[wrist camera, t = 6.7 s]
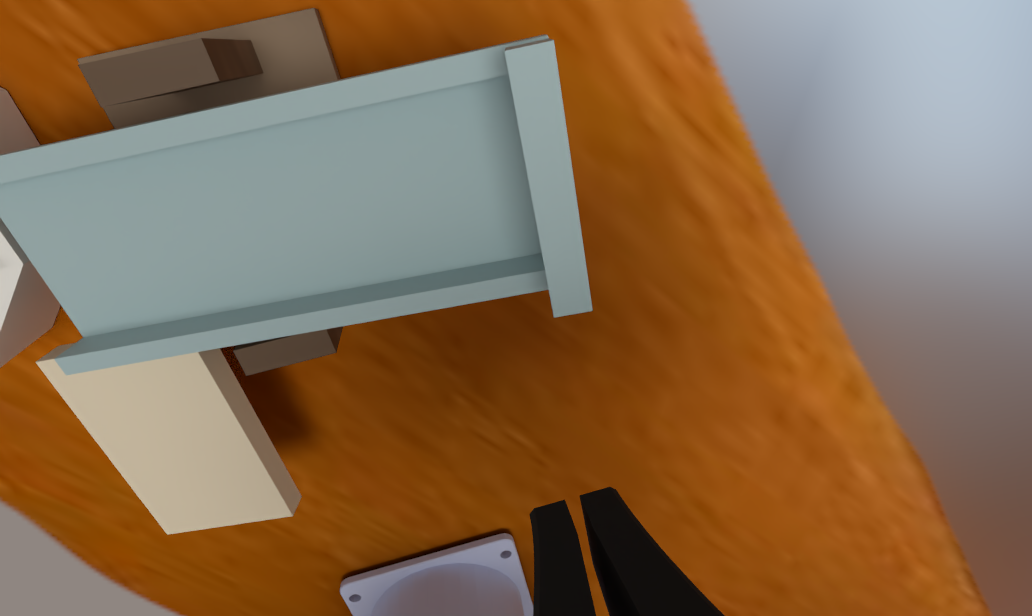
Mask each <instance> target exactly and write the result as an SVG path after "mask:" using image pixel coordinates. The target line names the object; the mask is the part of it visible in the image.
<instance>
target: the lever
mask: <svg viewBox="0 0 1032 616" xmlns="http://www.w3.org/2000/svg"><path fill="white" fill-rule="evenodd" d="M0 218H1V219H2V221H3V222H4V224H5V225H6V227H7V228H8V229H9V231H10V232H11V234H12V235H13V237H14V238H15V239H16V241H17V242H18V244H19V245H20V247H21V248H22V250H23V251H24V252H25V254H26V255H27V257H28V258H29V260H30V261H31V263H32V264H33V265H34V267H35V268H36V270H37V271H38V273H39V274H40V276H41V277H42V278H43V280H44V281H45V283H46V284H47V286H48V287H49V289H50V290H51V291H52V293H53V294H54V296H55V297H56V299H57V300H58V302H59V303H60V304H61V306H62V307H63V309H64V310H65V312H66V313H67V314H68V316H69V317H70V319H71V320H72V322H73V323H74V325H75V326H76V327H77V329H78V330H79V332H80V333H81V335H82V336H83V338H82V339H81V340H79V341H78V342H77V343H72V344H67V345H61V346H58V347H56V348H55V349H53V350H52V351H51V352H49V353H48V354H46V355H45V356H44V357H42V358H41V359H39V360H38V361H36V364H37V365H38V366H39V368H40V369H41V370H42V371H43V373H44V374H45V375H46V377H47V378H48V379H49V381H50V382H51V383H52V384H53V386H54V387H55V388H56V390H57V391H58V392H59V394H60V395H61V396H62V398H63V399H64V400H65V401H66V403H67V404H68V405H69V407H70V408H71V409H72V411H73V412H74V413H75V415H76V416H77V417H78V418H79V420H80V421H81V422H82V424H83V425H84V426H85V428H86V429H87V430H88V432H89V433H90V434H91V435H92V437H93V438H94V439H95V441H96V442H97V443H98V445H99V446H100V447H101V449H102V450H103V451H104V452H105V454H106V455H107V456H108V458H109V459H110V460H111V462H112V463H113V464H114V466H115V467H116V468H117V469H118V471H119V472H120V473H121V475H122V476H123V477H124V479H125V480H126V481H127V483H128V484H129V485H130V486H131V488H132V489H133V490H134V492H135V493H136V494H137V496H138V497H139V498H140V500H141V501H142V502H143V503H144V505H145V506H146V507H147V509H148V510H149V511H150V513H151V514H152V515H153V517H154V518H155V519H156V520H157V522H158V523H159V524H160V526H161V527H162V528H163V530H164V531H165V532H166V534H174V533H181V532H188V531H195V530H201V529H208V528H215V527H222V526H229V525H235V524H242V523H249V522H256V521H263V520H270V519H276V518H283V517H290V516H293V515H294V513H295V510H296V508H297V506H298V504H299V501H300V499H301V497H302V496H301V494H300V492H299V491H298V489H297V487H296V485H295V483H294V482H293V480H292V478H291V476H290V474H289V473H288V471H287V469H286V467H285V465H284V464H283V462H282V460H281V458H280V456H279V455H278V453H277V451H276V449H275V447H274V446H273V444H272V442H271V440H270V438H269V437H268V435H267V433H266V431H265V429H264V428H263V426H262V424H261V422H260V420H259V418H258V417H257V415H256V413H255V411H254V409H253V408H252V406H251V404H250V402H249V400H248V399H247V397H246V395H245V393H244V391H243V390H242V388H241V386H240V384H239V382H238V381H237V379H236V377H235V375H234V373H233V372H232V370H231V368H230V366H229V364H228V363H227V361H226V359H225V357H224V355H223V353H222V352H221V350H220V348H223V347H229V346H235V345H240V344H246V343H251V342H257V341H263V340H268V339H274V338H279V337H285V336H291V335H296V334H302V333H308V332H313V331H319V330H324V329H330V328H336V327H341V326H347V325H353V324H358V323H364V322H369V321H375V320H381V319H386V318H392V317H398V316H403V315H409V314H414V313H420V312H426V311H431V310H437V309H443V308H448V307H454V306H459V305H465V304H471V303H476V302H482V301H488V300H493V299H499V298H504V297H510V296H516V295H521V294H527V293H533V292H538V291H544V290H549V294H550V299H551V305H552V310H553V315H554V318H555V317H560V316H566V315H572V314H578V313H584V312H589V311H593V309H592V302H591V295H590V288H589V282H588V275H587V268H586V261H585V254H584V247H583V240H582V233H581V226H580V219H579V212H578V205H577V198H576V191H575V184H574V177H573V170H572V163H571V156H570V149H569V142H568V135H567V129H566V122H565V115H564V108H563V101H562V94H561V87H560V80H559V73H558V66H557V59H556V52H555V45H554V40H552V39H549V38H548V35H545V34H544V35H540V36H535V37H531V38H526V39H522V40H517V41H513V42H508V43H504V44H499V45H494V46H490V47H485V48H481V49H476V50H472V51H467V52H463V53H458V54H454V55H449V56H445V57H440V58H435V59H431V60H426V61H422V62H417V63H413V64H408V65H404V66H399V67H395V68H390V69H385V70H381V71H376V72H372V73H367V74H363V75H358V76H354V77H349V78H345V79H340V80H336V81H331V82H326V83H322V84H317V85H313V86H308V87H304V88H299V89H295V90H290V91H286V92H281V93H277V94H272V95H267V96H263V97H258V98H254V99H249V100H245V101H240V102H236V103H231V104H227V105H222V106H218V107H213V108H208V109H204V110H199V111H195V112H190V113H186V114H181V115H177V116H172V117H168V118H163V119H159V120H154V121H149V122H145V123H140V124H136V125H131V126H127V127H122V128H118V129H113V130H109V131H104V132H99V133H95V134H90V135H86V136H81V137H77V138H72V139H68V140H63V141H59V142H54V143H50V144H45V145H40V146H36V147H31V148H27V149H22V150H18V151H13V152H9V153H4V154H0Z"/></svg>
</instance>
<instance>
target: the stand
mask: <svg viewBox="0 0 1032 616" xmlns="http://www.w3.org/2000/svg"><path fill="white" fill-rule="evenodd" d="M77 60H78V62H79V65H78V66H79V68H80V69H81V71H82V73H83V75H84V77H85V79H86V80H87V82H88V84H89V86H90V88H91V90H92V92H93V93H94V95H95V97H96V99H97V101H98V103H99V104H100V106H101V107H103V108H104V110H105V112H106V114H107V116H108V118H109V120H110V121H111V123H112V125H113V127H114V129H118V128H122V127H127V126H131V125H136V124H140V123H145V122H149V121H154V120H159V119H163V118H168V117H172V116H177V115H181V114H186V113H190V112H195V111H199V110H204V109H208V108H213V107H218V106H222V105H227V104H231V103H236V102H240V101H245V100H249V99H254V98H258V97H263V96H267V95H272V94H277V93H281V92H286V91H290V90H295V89H299V88H304V87H308V86H313V85H317V84H322V83H326V82H331V81H336V80H340V76H339V73H338V70H337V67H336V64H335V61H334V58H333V55H332V52H331V48H330V45H329V42H328V39H327V36H326V33H325V30H324V27H323V24H322V21H321V18H320V15H319V12H318V9H315V8H312V9H307V10H302V11H298V12H293V13H288V14H284V15H279V16H274V17H270V18H265V19H261V20H256V21H251V22H247V23H242V24H237V25H233V26H228V27H223V28H219V29H214V30H209V31H205V32H200V33H196V34H191V35H186V36H182V37H177V38H172V39H168V40H163V41H158V42H154V43H149V44H144V45H140V46H135V47H131V48H126V49H121V50H117V51H112V52H107V53H103V54H98V55H93V56H89V57H84V58H79V59H77ZM342 328H343V326H341V327H336V328H330V329H324V330H319V331H313V332H308V333H302V334H296V335H291V336H285V337H279V338H274V339H268V340H263V341H257V342H251V343H246V344H240V345H236V347H235V348H234V350H233V352H234V354H235V356H236V358H237V360H238V361H239V363H240V365H241V367H242V369H243V371H244V372H245V374H246V376H248V375H252V374H256V373H260V372H263V371H267V370H271V369H275V368H279V367H283V366H287V365H291V364H294V363H298V362H302V361H306V360H310V359H314V358H318V357H322V356H325V355H329V354H333V353H336V352H337V348H338V344H339V340H340V336H341V332H342Z"/></svg>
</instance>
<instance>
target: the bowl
mask: <svg viewBox="0 0 1032 616" xmlns="http://www.w3.org/2000/svg"><path fill="white" fill-rule="evenodd" d="M36 146H40V144H39V142H38V141H37V139H36V137H35V136H34V134H33V132H32V131H31V129H30V128H29V126H28V124H27V123H26V121H25V119H24V118H23V116H22V115H21V113H20V111H19V110H18V108H17V106H16V105H15V103H14V101H13V100H12V98H11V97H10V95H9V93H8V92H7V90H5V89H3V88H1V87H0V154H4V153H9V152H13V151H18V150H22V149H27V148H31V147H36ZM60 306H61V304H60V303H59V302H58V300H57V299H56V297H55V296H54V294H53V293H52V291H51V290H50V289H49V287H48V286H47V284H46V283H45V281H44V280H43V278H42V277H41V276H40V274H39V273H38V271H37V270H36V268H35V267H34V265H33V264H32V263H31V261H30V260H29V258H28V257H27V255H26V254H25V252H24V251H23V250H22V248H21V247H20V245H19V244H18V242H17V241H16V239H15V238H14V237H13V235H12V234H11V232H10V231H9V229H8V228H7V227H6V225H5V224H4V222H3V221H2V219H1V218H0V367H2V366H3V365H4V364H6V363H7V362H8V361H9V360H11V359H12V358H13V357H15V356H16V355H17V354H18V353H20V352H21V351H22V350H24V349H25V348H26V347H28V346H29V345H30V344H31V343H33V342H34V341H35V340H37V339H38V338H39V337H40V336H42V335H43V334H44V333H46V332H47V331H48V330H49V329H51V328H52V327H53V325H54V322H55V319H56V317H57V314H58V311H59V309H60Z"/></svg>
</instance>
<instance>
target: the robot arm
mask: <svg viewBox="0 0 1032 616" xmlns="http://www.w3.org/2000/svg"><path fill="white" fill-rule="evenodd" d="M580 500H581V505H582V510H583V515H584V520H585V525H586V531H587V536H588V541H589V546H590V551H591V556H592V561H593V565H594V568H595V572H596V575H597V578H598V581H599V584H600V587H601V590H602V593H603V597H604V600H605V603H606V606H607V609H608V612H609V615H610V616H724V615H723V614H722V613H721V612H720V611H719V610H718V609H717V608H716V607H715V606H714V605H713V604H712V603H711V602H710V601H709V600H708V599H707V598H706V597H705V596H704V595H703V593H702V592H701V591H700V590H699V589H698V588H697V587H696V586H695V585H694V584H693V583H692V582H691V581H690V580H689V579H688V578H687V576H686V575H685V574H684V573H683V572H682V571H681V570H680V569H679V568H678V567H677V566H676V564H675V563H674V562H673V561H672V560H671V559H670V558H669V557H668V556H667V555H666V553H665V552H664V551H663V550H662V549H661V548H660V547H659V545H658V544H657V543H656V542H655V541H654V539H653V538H652V537H651V536H650V535H649V533H648V532H647V531H646V530H645V529H644V527H643V526H642V525H641V523H640V522H639V521H638V520H637V518H636V517H635V516H634V515H633V513H632V512H631V511H630V509H629V508H628V506H627V505H626V504H625V502H624V501H623V500H622V498H621V497H620V495H619V494H618V492H617V490H616V489H613V488H611V487H608V488H604V489H601V490H597V491H594V492H590V493H587V494H583V495H580ZM530 519H531V524H532V532H533V543H534V605H533V603H532V600H531V597H530V593H529V590H528V587H527V583H526V580H525V577H524V573H523V570H522V566H521V563H520V560H519V556H518V553H517V550H516V546H515V543H514V539H513V537H512V536H511V535H510V534H506V533H502V534H498V535H494V536H491V537H487V538H484V539H480V540H477V541H473V542H470V543H466V544H463V545H459V546H456V547H452V548H449V549H445V550H442V551H438V552H435V553H431V554H428V555H424V556H421V557H417V558H414V559H410V560H407V561H403V562H400V563H396V564H393V565H389V566H386V567H383V568H379V569H376V570H372V571H369V572H365V573H362V574H358V575H355V576H351V577H348V578H346V579H344V580H343V581H342V582H341V585H340V594H341V596H342V597H343V599H344V601H345V603H346V604H347V606H348V608H349V610H350V611H351V613H352V615H353V616H596V614H595V609H594V605H593V600H592V596H591V592H590V587H589V583H588V578H587V574H586V570H585V565H584V561H583V556H582V552H581V548H580V543H579V539H578V534H577V532H576V529H575V526H574V523H573V521H572V518H571V515H570V513H569V510H568V507H567V505H566V502H565V500H562V501H559V502H555V503H551V504H548V505H544V506H541V507H537V508H534V509H533V511H532V512H531V513H530Z"/></svg>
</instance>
